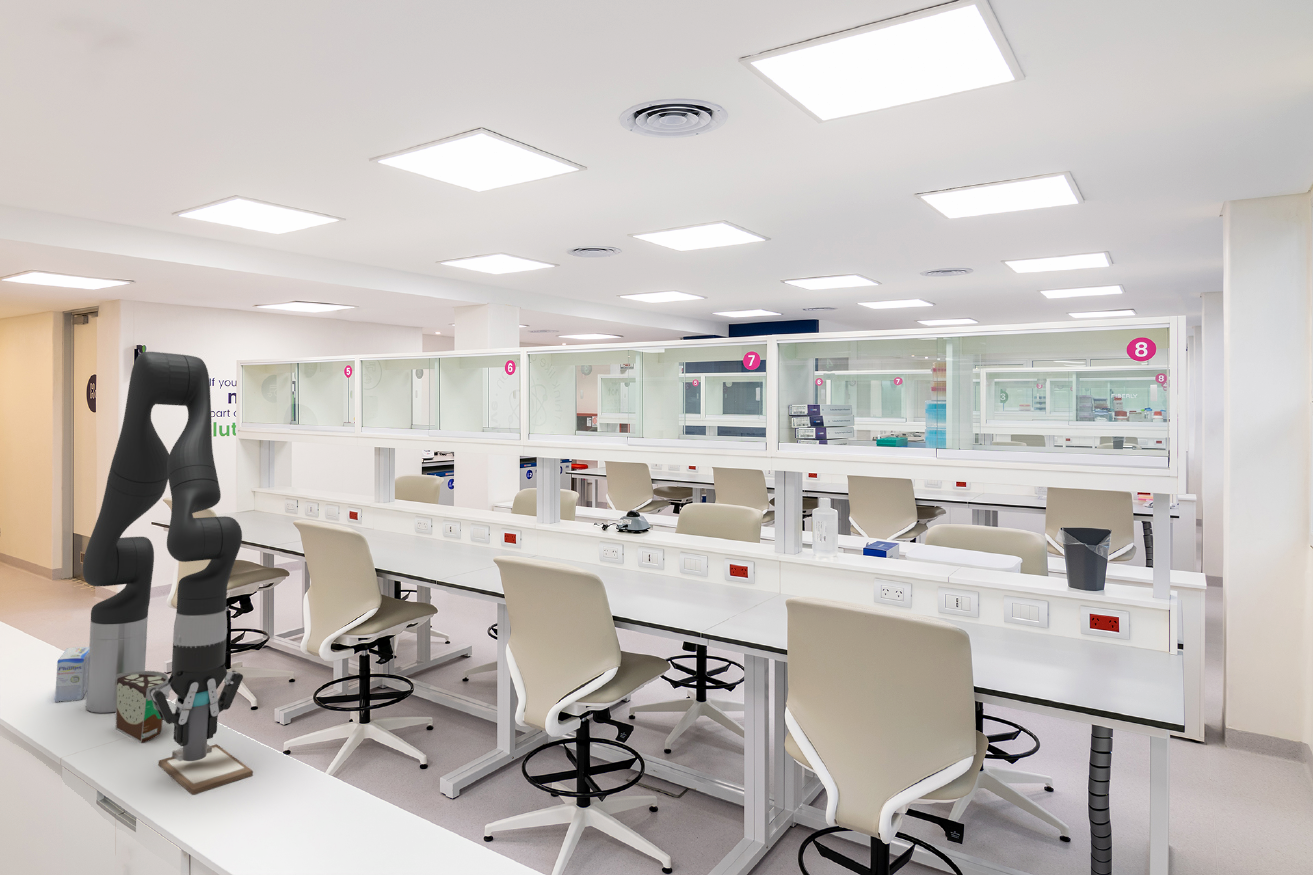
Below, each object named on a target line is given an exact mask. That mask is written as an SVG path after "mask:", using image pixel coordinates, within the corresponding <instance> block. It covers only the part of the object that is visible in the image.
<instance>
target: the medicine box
mask: <svg viewBox="0 0 1313 875" xmlns="http://www.w3.org/2000/svg"><path fill="white" fill-rule="evenodd" d="M88 663H89V646H79V647H78V646H77V647H68V648H66V649H65V650H64V652H63V653H62V654H61V655H60V656H59V658H58V660H57V662H56V681H55V695H54V696H55V697H54V702H56V703H62V702H61V701H67V702H75V701H74V700H77V701H81V700H83V699H84V697H85V695H86V694H87V682H88ZM72 700H73V701H72ZM59 701H60V702H59Z"/></svg>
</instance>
